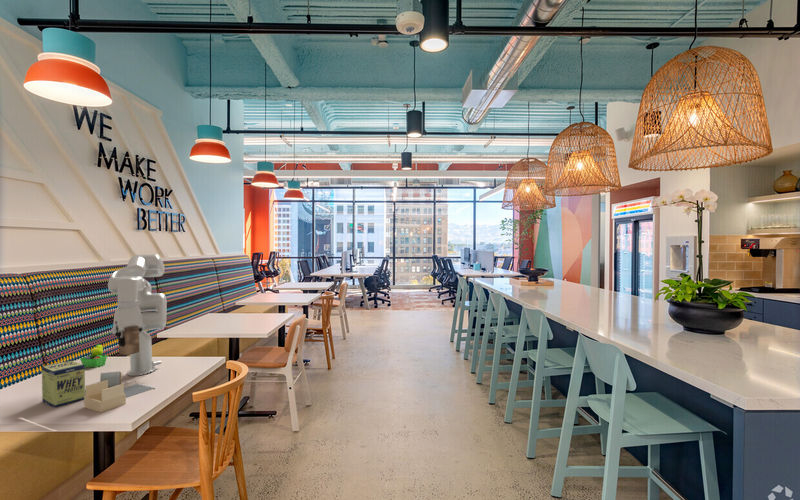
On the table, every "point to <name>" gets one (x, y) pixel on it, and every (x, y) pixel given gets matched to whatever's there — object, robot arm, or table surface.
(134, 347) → the walnut block
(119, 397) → the beige open box
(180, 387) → the table surface
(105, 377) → the ceramic mug
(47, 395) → the protein box
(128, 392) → the rubber mat
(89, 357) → the fruit basket
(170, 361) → the table surface
